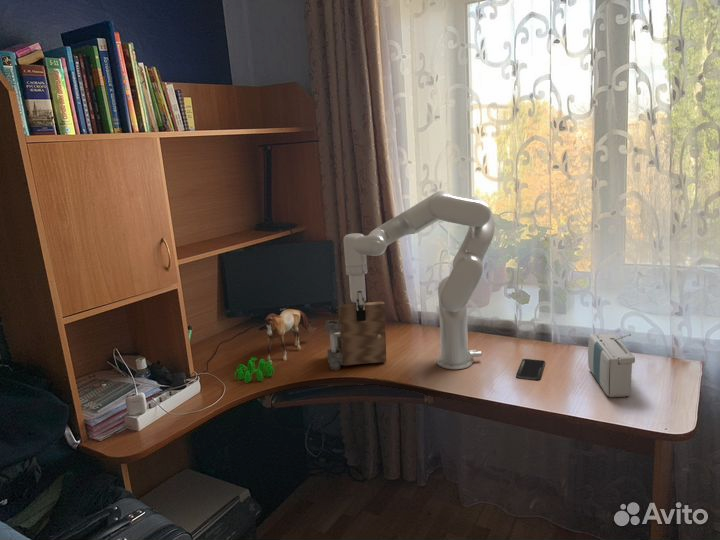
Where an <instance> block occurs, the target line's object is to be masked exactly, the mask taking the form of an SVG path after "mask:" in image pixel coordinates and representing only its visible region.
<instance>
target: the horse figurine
mask: <svg viewBox="0 0 720 540" xmlns="http://www.w3.org/2000/svg"><path fill="white" fill-rule="evenodd" d="M264 321H265V324H264V325H265V328H266V329H267V330H266V335H267V337H268V338H267V362H269V361H271V362H270V363H271V364H272V365H273V363H272V362H273V361H272V360H271V348H272V345H273V343H274V340H275V339H277V338H278V339H279V340H280V342H281V347H282V350H283V357H282V361H284V362H285V361H287V360H288V358H287V351H286V344H285V339H284V336H285V334H286V333H287V332H289V331H292V333H293V335H294V339H295V341H294V347H296V350H297V352H298V351H301V348H302V347H301V345H300V334H301V332H300V329H299V324H301V326H302V327H303V328H305V330H306V331H307V332H308V333H309V334H312V335H314V333H315V332H316V330H317V327H314V326H312V325H311V324H310V323H309V319H308V316H307V315H306V313H304V312H303V311H302V310H299V309H293V308H288V309H283V311H281V312H280V314H279V315H278V314H275V313H274V312H273V313H269V314H268V315H267V317H266V318H264Z"/></svg>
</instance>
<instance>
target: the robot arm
mask: <svg viewBox="0 0 720 540" xmlns="http://www.w3.org/2000/svg"><path fill="white" fill-rule="evenodd" d="M438 221H442V222H447V223H451V224H458V225H462V226H467V227H468V230H467V232H466V235H465V237H464V239H463V241H462V243H461V245H460V247H459V249H458V251H457V253H456V254H455V256H454V257H453V259H452V270H451V272H450V274H449V276H446V277H444V278H443V279H441V281H440V283H439V284H438V288H437V296H438V309H439V311H438V312H439V336H440V337H439V339H440V340H439V342H440V356H438V357H437V358H436V363H437V365H438V366H439V367H440V368H443V369H447V370H462V369H463V370H464V369H467V368H469V367H470V366H472V364H473V363H474V358H478V357H479V358H480V357H482V351H481V350H476V349H471V350H470V349H469V344H468V343H469V341H468V339H469V338H468V307H467V306H468V305H467V304H469V301H470V300H471V298H472V296H473V294H474V292H475V290H476V288H477V287H478V285H479V282H480V280H481V279H482V276H483V272H484V271H483V263H482V262H483V259H484V258H485V255H486V253H487V251H488V249H489V247H490V245H491V243H492V241H493V238H494V234H495V227H496V225H495V224H496V223H495V217H494V214H493V211H492V209H491V207H490V206H489V204H488V203H487V201H486V200H485V199H484V198H482V197H480V196H471V197H469V198H464V197H459V196H453V195H451V193H450V192H448V191H445V190H439V191H437V192H434V193H432V194H431V195H428V196H427V197H426V198H425V199H423V200H421V201H420V202H418V203H416V204H415V205H413V206H411V207H409V208H408V209H406V210H404V211H403V212H401V213H399V214H397V216H395V217H393V218H391V219H389V220H387V221H385V222H383V224H381V225H379V226H377V227H376V228H375V229H373V230H371V231H370V232H369V234H367V235H364V234H363V233H359V232H358V233H357V232H355V233H348V234H346V235H345V236H344V237H343V250H344V251H343V252H344V263H345V264H344V265H345V275H347V276H348V284H349V296H350V300H351V302H352V303H351V304H354V303H356V308H357V310H356V317H357V321H365V320H366V314H365V307H364V303H366V301H367V296H366V295H367V293H366V280H365V279H366V276H365V275H366V274H367V273H368V262H367V261H368V260H367V258H368V257H367V256H372V257H373V256H374V257H378V256H381V255H383V254H384V253H385V252H386V250H387V248H388V246H389V245H391V244H393V243H394V242H395V241H398V240H400V239H401V238H403V237H405V236H408V235H415V234H417V233H418V234H419V233H420V232H421V231H423V230H425V229H426V228H428V227H430V226H431V225H433V224H435V223H436V222H438ZM358 304H359V305H358Z"/></svg>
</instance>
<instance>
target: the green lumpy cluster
mask: <svg viewBox="0 0 720 540" xmlns="http://www.w3.org/2000/svg"><path fill="white" fill-rule="evenodd" d="M257 360H258V357H255V356H253V357H251V358H250V360H248V362H247V366H246V365H245V364H238V365H237V367H236V371H235V372H234V378H235V379H236V381H241V380H244V382H245V384H248V383H251V382H252V379H253V377H252V375H253V374H256V379H257V381H258V382H260V383H261V382H263V381H264V376H265V377H271V378H273V376H275V369H276V364H275V363H274V362H273V361H272V360H271V361H272V364H271V363H270V362H271V361H269V362H268V361H265V359H264V358H262V359H260V360H259V362H258V368H256V361H257ZM244 374H245V375H244ZM236 375H237V376H236Z"/></svg>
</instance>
